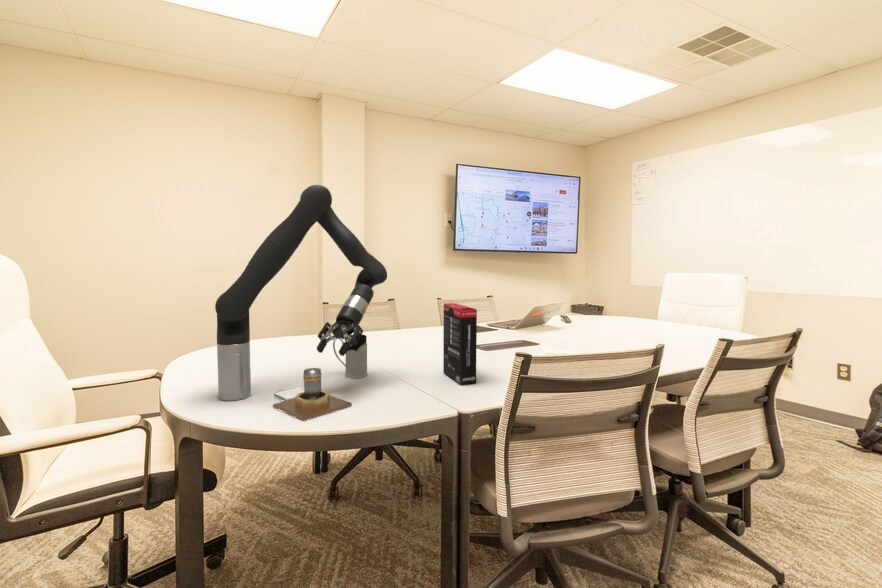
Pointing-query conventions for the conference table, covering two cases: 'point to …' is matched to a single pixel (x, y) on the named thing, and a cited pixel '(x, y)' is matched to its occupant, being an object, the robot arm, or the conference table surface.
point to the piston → (312, 383)
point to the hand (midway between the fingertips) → (329, 352)
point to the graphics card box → (460, 343)
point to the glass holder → (355, 359)
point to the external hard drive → (288, 393)
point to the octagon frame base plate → (311, 405)
